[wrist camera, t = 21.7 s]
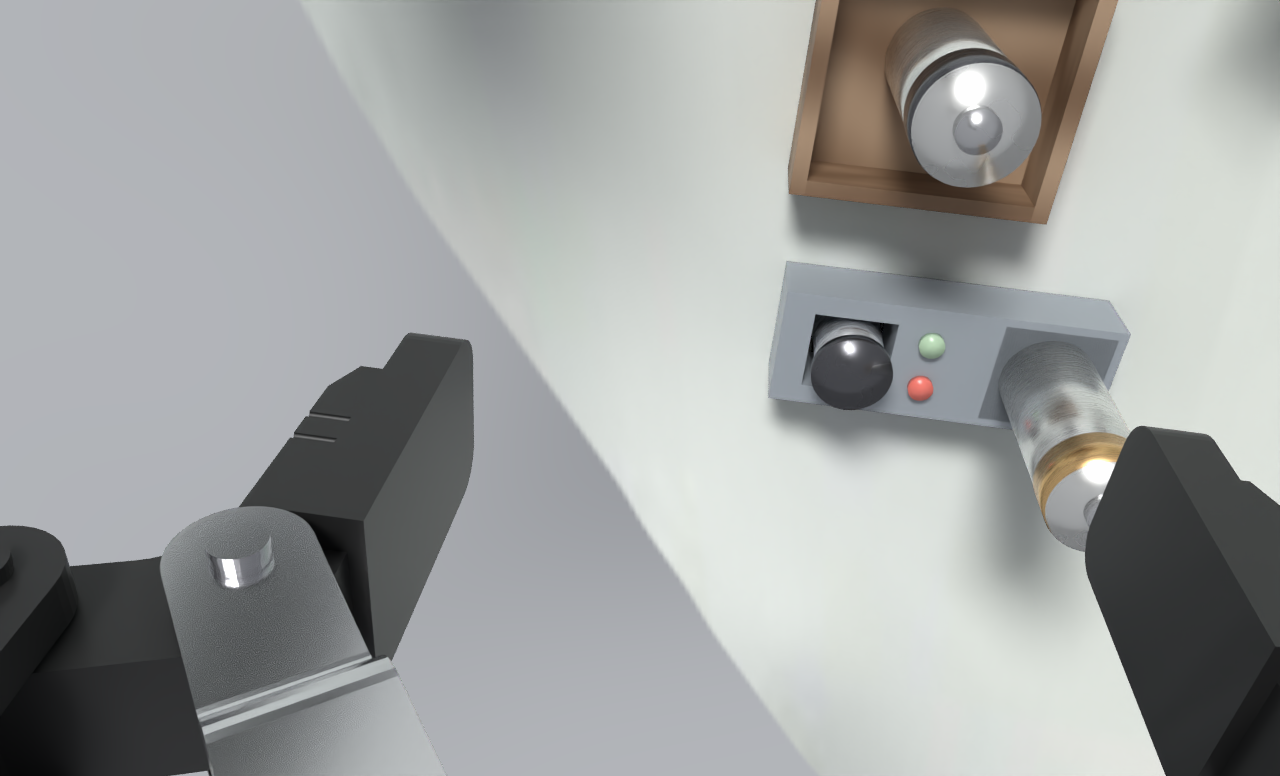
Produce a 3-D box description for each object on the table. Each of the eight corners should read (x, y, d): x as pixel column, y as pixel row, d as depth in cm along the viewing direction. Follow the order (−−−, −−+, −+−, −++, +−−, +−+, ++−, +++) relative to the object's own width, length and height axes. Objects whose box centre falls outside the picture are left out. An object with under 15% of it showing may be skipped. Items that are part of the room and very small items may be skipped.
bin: (831, -95, 41) (836, -86, 38) (1109, -67, 41) (1135, -55, 38) (788, 167, 47) (788, 193, 44) (1028, 196, 47) (1046, 224, 44)
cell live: (1012, 333, 47) (1068, 465, 38) (1109, 346, 46) (1189, 482, 37) (986, 413, 49) (1034, 555, 40) (1078, 425, 49) (1147, 570, 40)
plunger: (814, 285, 50) (818, 335, 46) (889, 294, 50) (901, 346, 45) (802, 350, 52) (804, 404, 48) (874, 358, 52) (883, 414, 47)
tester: (786, 261, 50) (787, 295, 46) (1109, 300, 49) (1133, 338, 46) (769, 363, 53) (768, 401, 50) (1071, 402, 52) (1091, 444, 49)
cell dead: (895, 0, 42) (928, 60, 33) (1001, 11, 42) (1064, 74, 33) (874, 105, 45) (899, 186, 36) (974, 116, 44) (1025, 201, 35)
